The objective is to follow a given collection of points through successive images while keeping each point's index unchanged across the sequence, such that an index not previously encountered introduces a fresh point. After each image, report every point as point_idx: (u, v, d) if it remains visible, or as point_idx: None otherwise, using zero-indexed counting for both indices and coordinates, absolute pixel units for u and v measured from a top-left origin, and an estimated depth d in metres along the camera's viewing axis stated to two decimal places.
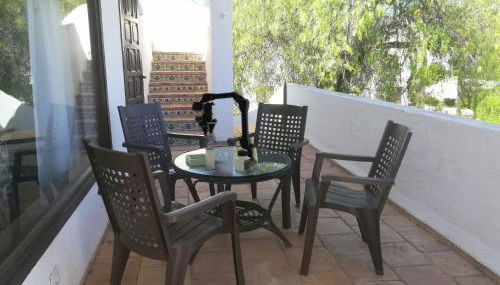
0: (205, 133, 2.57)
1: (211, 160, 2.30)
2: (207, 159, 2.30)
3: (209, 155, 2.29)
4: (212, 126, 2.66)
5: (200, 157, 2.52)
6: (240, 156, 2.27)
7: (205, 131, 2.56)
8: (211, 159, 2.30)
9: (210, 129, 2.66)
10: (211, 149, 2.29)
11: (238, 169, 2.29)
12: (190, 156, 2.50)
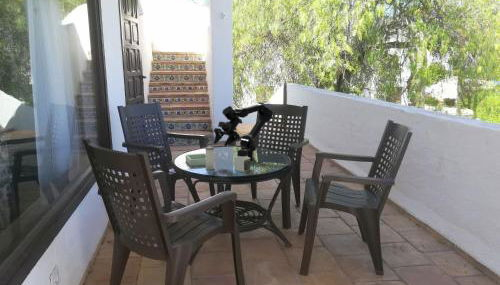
0: (227, 143, 2.34)
1: (211, 160, 2.30)
2: (207, 159, 2.30)
3: (209, 155, 2.29)
4: (219, 138, 2.43)
5: (200, 157, 2.52)
6: (240, 156, 2.27)
7: (229, 142, 2.34)
8: (211, 159, 2.30)
9: (216, 139, 2.41)
10: (211, 149, 2.29)
11: (238, 169, 2.29)
12: (190, 156, 2.50)
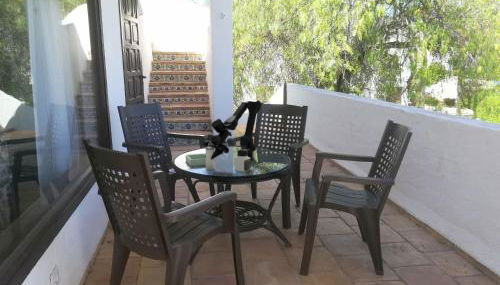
0: (214, 157, 2.30)
1: (211, 160, 2.30)
2: (207, 159, 2.30)
3: (209, 155, 2.29)
4: None
5: (200, 157, 2.52)
6: (240, 156, 2.27)
7: (215, 155, 2.30)
8: None
9: None
10: (211, 149, 2.29)
11: (238, 169, 2.29)
12: (190, 156, 2.50)
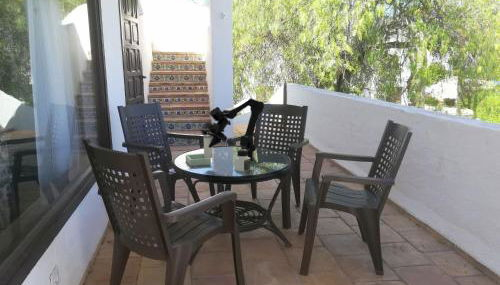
0: (212, 145, 2.29)
1: (209, 148, 2.30)
2: (205, 147, 2.30)
3: (207, 143, 2.29)
4: None
5: (200, 157, 2.52)
6: (240, 156, 2.27)
7: (213, 143, 2.30)
8: None
9: None
10: (209, 137, 2.28)
11: (238, 169, 2.29)
12: (190, 156, 2.50)
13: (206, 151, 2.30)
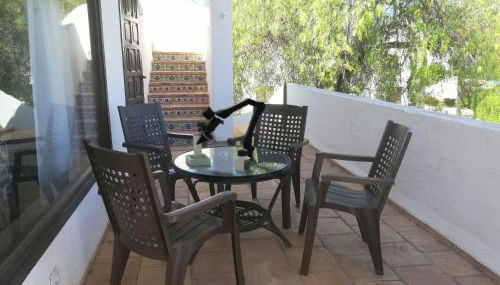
0: (199, 142, 2.40)
1: (197, 145, 2.41)
2: (194, 144, 2.42)
3: (195, 140, 2.41)
4: None
5: (200, 157, 2.52)
6: (240, 156, 2.27)
7: (201, 141, 2.40)
8: None
9: None
10: (197, 135, 2.39)
11: (238, 169, 2.29)
12: (190, 156, 2.50)
13: (194, 148, 2.42)
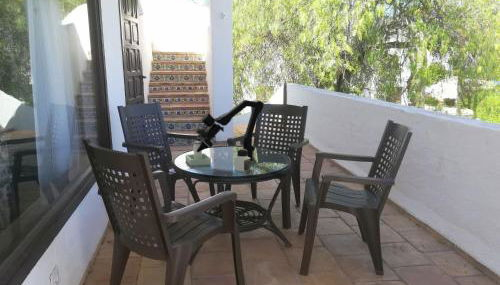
0: (199, 149, 2.39)
1: (197, 154, 2.42)
2: (194, 153, 2.43)
3: (195, 149, 2.42)
4: None
5: None
6: (240, 156, 2.27)
7: (201, 148, 2.39)
8: (197, 153, 2.42)
9: None
10: (197, 143, 2.41)
11: (238, 169, 2.29)
12: (190, 156, 2.50)
13: (194, 156, 2.43)
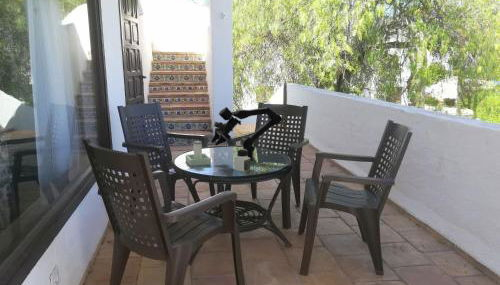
0: (218, 143, 2.42)
1: (197, 154, 2.42)
2: (194, 153, 2.43)
3: (195, 149, 2.42)
4: (218, 137, 2.52)
5: None
6: (240, 156, 2.27)
7: (220, 141, 2.42)
8: (197, 153, 2.42)
9: (214, 138, 2.51)
10: (197, 143, 2.41)
11: (238, 169, 2.29)
12: (190, 156, 2.50)
13: (194, 156, 2.43)
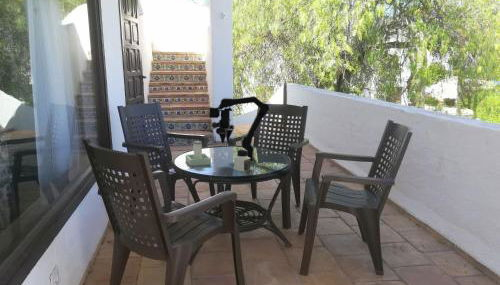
0: (222, 140, 2.48)
1: (197, 154, 2.42)
2: (194, 153, 2.43)
3: (195, 149, 2.42)
4: (229, 132, 2.57)
5: None
6: (240, 156, 2.27)
7: (222, 138, 2.47)
8: (197, 153, 2.42)
9: (227, 136, 2.57)
10: (197, 143, 2.41)
11: (238, 169, 2.29)
12: (190, 156, 2.50)
13: (194, 156, 2.43)
